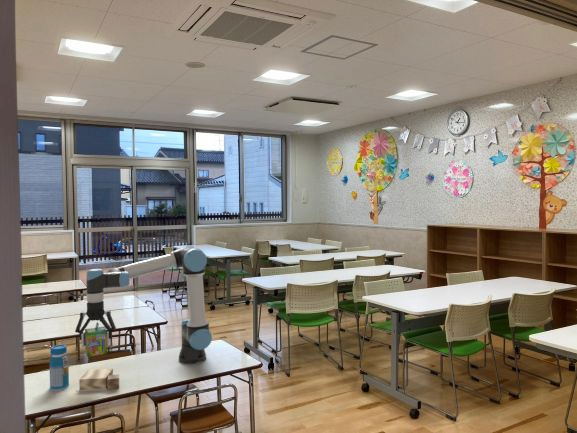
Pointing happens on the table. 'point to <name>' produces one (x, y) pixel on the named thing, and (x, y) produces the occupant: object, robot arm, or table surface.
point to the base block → (95, 379)
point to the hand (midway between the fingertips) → (96, 345)
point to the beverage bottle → (59, 368)
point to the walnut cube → (113, 382)
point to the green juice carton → (95, 341)
